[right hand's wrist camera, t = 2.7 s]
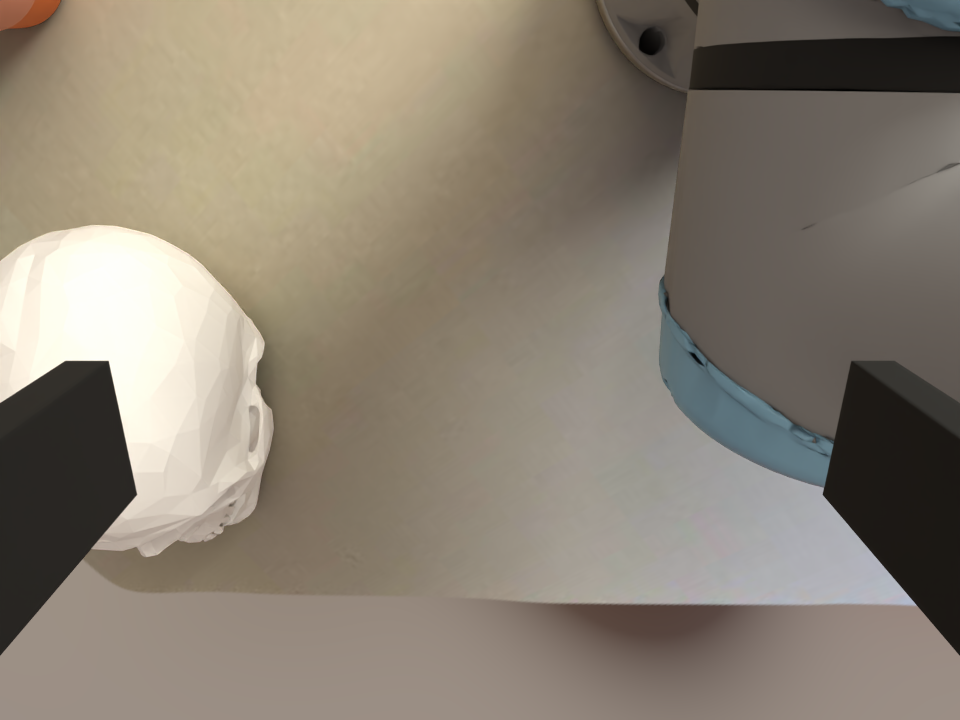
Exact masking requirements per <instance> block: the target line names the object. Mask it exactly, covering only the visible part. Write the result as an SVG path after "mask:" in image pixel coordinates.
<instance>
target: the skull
mask: <svg viewBox="0 0 960 720" xmlns="http://www.w3.org/2000/svg"><path fill="white" fill-rule="evenodd" d="M264 347H265V342H264V340H263V338H262V336H261V333H260V332H259V331H258V329H257V328H256V327H255V325H254V324H253V322H252V320H251V319H250V318H249V317H248V316H247V315H246V314H245V313H244V312H243V310H242V309H241V308H240V306H239V305H238V303H237V302H236V301H235V300H234V299H233V297H232V296H231V295H230V294H229V293H228V292H227V291H226V290H225V288H224V287H223V286H222V285H221V284H220V283H219V282H218V281H217V280H216V279H215V278H214V277H213V276H212V275H211V274H210V272H209V271H208V270H207V269H206V268H205V267H204V266H203V265H202V264H201V263H200V262H198V261H197V260H196V259H194V258H193V257H192V256H191V255H189V254H188V253H186V252H185V251H183V250H181V249H179V248H177V247H176V246H174V245H172V244H170V243H168V242H166V241H164V240H162V239H160V238H158V237H156V236H154V235H151V234H148V233H144V232H140V231H136V230H131V229H127V228H123V227H119V226H105V225H90V226H84V227H79V228H73V229H68V230H62V231H54V232H50V233H47V234H44V235H42V236H39V237H37V238H35V239H33V240H31V241H29V242H27V243H25V244H23V245H21V246H19V247H17V248H16V249H15V250H14V251H12V252H11V253H10V254H9V255H7V256H6V257H5V258H3V259H2V260H1V261H0V403H1V402H2V401H4V400H5V399H7V398H9V397H10V396H12V395H13V394H15V393H16V392H18V391H19V390H21V389H22V388H24V387H26V386H27V385H29V384H30V383H32V382H33V381H35V380H36V379H38V378H39V377H41V376H43V375H44V374H46V373H47V372H49V371H50V370H52V369H53V368H55V367H56V366H58V365H60V364H61V363H63V362H64V361H109V364H110V369H111V374H112V378H113V383H114V388H115V392H116V397H117V402H118V406H119V411H120V416H121V421H122V425H123V430H124V435H125V439H126V444H127V449H128V453H129V458H130V463H131V468H132V472H133V477H134V482H135V486H136V491H137V496H136V497H135V498H134V499H133V500H132V502H131V503H130V504H129V505H128V506H127V507H126V509H125V510H124V511H123V512H122V513H121V514H120V516H119V517H118V518H117V519H116V520H115V521H114V523H113V524H112V525H111V526H110V527H109V529H108V530H107V531H106V532H105V533H104V534H103V536H102V537H101V538H100V539H99V540H98V541H97V543H96V544H95V545H94V546H93V547H92V548H91V549H99V550H115V551H124V550H128V549H131V548H135V547H137V548H138V550H139V552H140V553H141V555H142V556H144V557H149V556H155V555H158V554H159V553H160V552H162V551H163V550H164V549H166V548H167V547H168V546H169V545H171V544H172V543H174V542H175V541H177V540H180V541H185V542H187V543H192V542H201V541H202V540H204V542H206V541H208V540H211V539H213V538H214V537H216V536H217V534H221V533H222V532H223V530H224V526H226V525H233V524H236V523H239V522H241V521H242V520H244V519H245V518H246V517H248V516H249V515H250V514H251V513H252V512H253V510H254V509H255V507H256V505H257V501H258V495H259V489H260V482H261V476H262V472H263V469H264V466H265V463H266V460H267V457H268V454H269V451H270V447H271V442H272V437H273V432H274V423H273V415H272V409H271V408H270V407H268V406H267V405H266V404H265V403H264V400H263V398H262V396H261V390H260V389H259V387H258V386H257V385H256V373H257V363H258V362H259V360H260V359H261V358H262V355H263V351H264ZM213 532H214V533H215V534H212V533H213Z"/></svg>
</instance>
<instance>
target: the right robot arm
mask: <svg viewBox="0 0 960 720" xmlns="http://www.w3.org/2000/svg"><path fill="white" fill-rule="evenodd" d="M596 3H597V6H598V9H599V12H600V15H601V17H602V19H603V22H604V24H605V26H606V28H607V30H608V32H609V34H610V35H611V37H612V39H613V40H614V42H615V43H616V45H617V46H618V48H619V49H620V50H621V51H622V53H623V54H624V55H625V56H626V57H627V59H628V60H629V61H630V62H631V63H633V64H634V65H635V66H636V67H637V68H638V69H639V70H640V71H642V72H643V73H644V74H646V75H647V76H648V77H650V78H652V79H653V80H655V81H657V82H658V83H660V84H662V85H665V86H667V87H669V88H671V89H674V90H677V91H680V92H684V93H688V94H687V102H686V109H685V117H684V125H683V133H682V141H681V149H680V157H679V165H678V173H677V180H676V188H675V196H674V204H673V212H672V220H671V228H670V236H669V244H668V252H667V259H666V267H665V274H664V276H663V277H662V279H661V280H660V284H659V293H658V296H659V305H660V308H661V311H662V321H661V336H660V350H659V365H660V371H661V375H662V379H663V381H664V383H665V385H666V386H667V388H668V389H669V390H670V392H671V395H672V396H673V398H674V401H675V403H676V404H677V406H678V407H679V409H680V410H681V411H682V412H683V413H684V414H685V415H686V416H687V417H688V418H689V419H690V420H691V421H692V422H693V423H694V424H695V425H696V426H697V427H698V428H700V429H701V430H702V431H703V432H705V433H706V434H707V435H708V436H710V437H711V438H713V439H714V440H715V441H717V442H718V443H720V444H721V445H723V446H724V447H726V448H728V449H730V450H731V451H733V452H735V453H737V454H738V455H740V456H742V457H744V458H746V459H748V460H750V461H752V462H754V463H756V464H758V465H760V466H762V467H764V468H767V469H769V470H772V471H774V472H776V473H779V474H782V475H785V476H787V477H790V478H793V479H796V480H799V481H802V482H805V483H808V484H812V485H816V486H820V487H824V491H823V496H824V497H825V498H826V499H827V500H828V502H829V503H830V504H831V505H832V506H833V507H834V509H835V510H836V511H837V512H838V513H839V514H840V516H841V517H842V518H843V519H844V520H845V521H846V523H847V524H848V525H849V526H850V527H851V529H852V530H853V531H854V532H855V533H856V534H857V536H858V537H859V538H860V539H861V540H862V541H863V543H864V544H865V545H866V546H867V547H868V548H869V550H870V551H871V552H872V553H873V554H874V555H875V557H876V558H877V559H878V560H879V561H880V563H881V564H882V565H883V566H884V567H885V568H886V570H887V571H888V572H889V573H890V574H891V575H892V577H893V578H894V579H895V580H896V581H897V582H898V584H899V585H900V586H901V587H902V588H903V590H904V591H905V592H906V593H907V594H908V595H909V597H910V598H911V599H912V600H913V601H914V602H915V604H916V605H917V606H918V607H919V608H920V609H921V611H922V612H923V613H924V614H925V615H926V616H927V618H928V619H929V620H930V621H931V622H932V624H933V625H934V626H935V627H936V628H937V629H938V630H939V632H940V633H941V634H942V635H943V636H944V638H945V639H946V640H947V641H948V642H949V643H950V645H951V646H952V647H953V648H954V649H955V650H956V652H957V653H958V654H959V655H960V0H596ZM136 496H137V491H136V486H135V482H134V477H133V472H132V468H131V463H130V458H129V453H128V449H127V444H126V439H125V435H124V430H123V425H122V421H121V416H120V411H119V406H118V402H117V397H116V392H115V388H114V383H113V378H112V374H111V369H110V364H109V361H64V362H63V363H61V364H60V365H58V366H56V367H55V368H53V369H52V370H50V371H49V372H47V373H46V374H44V375H43V376H41V377H39V378H38V379H36V380H35V381H33V382H32V383H30V384H29V385H27V386H26V387H24V388H22V389H21V390H19V391H18V392H16V393H15V394H13V395H12V396H10V397H9V398H7V399H5V400H4V401H2V402H1V403H0V655H1V654H2V653H3V652H4V650H5V649H6V648H7V647H8V646H9V645H10V643H11V642H12V641H13V640H14V639H15V638H16V636H17V635H18V634H19V633H20V632H21V631H22V629H23V628H24V627H25V626H26V625H27V623H28V622H29V621H30V620H31V619H32V618H33V616H34V615H35V614H36V613H37V612H38V611H39V609H40V608H41V607H42V606H43V605H44V604H45V602H46V601H47V600H48V599H49V598H50V597H51V595H52V594H53V593H54V592H55V591H56V589H57V588H58V587H59V586H60V585H61V584H62V582H63V581H64V580H65V579H66V578H67V577H68V575H69V574H70V573H71V572H72V571H73V570H74V568H75V567H76V566H77V565H78V564H79V562H80V561H81V560H82V559H83V558H84V557H85V555H86V554H87V553H88V552H89V551H90V550H91V548H92V547H93V546H94V545H95V544H96V543H97V541H98V540H99V539H100V538H101V537H102V536H103V534H104V533H105V532H106V531H107V530H108V529H109V527H110V526H111V525H112V524H113V523H114V521H115V520H116V519H117V518H118V517H119V516H120V514H121V513H122V512H123V511H124V510H125V509H126V507H127V506H128V505H129V504H130V503H131V502H132V500H133V499H134V498H135V497H136Z"/></svg>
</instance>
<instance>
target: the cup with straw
mask: <svg viewBox="0 0 960 720" xmlns="http://www.w3.org/2000/svg"><path fill="white" fill-rule="evenodd" d="M60 2H61V0H0V31H2V30H5V29H11V28H27V27H32V26H35V25H38V24H40V23H42V22H43V21H45V20H46V19H48V18H49V17H50V16H51V15H52V14H53V13H54V12H55V10H56V9H57V7H58V6H59V4H60Z"/></svg>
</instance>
